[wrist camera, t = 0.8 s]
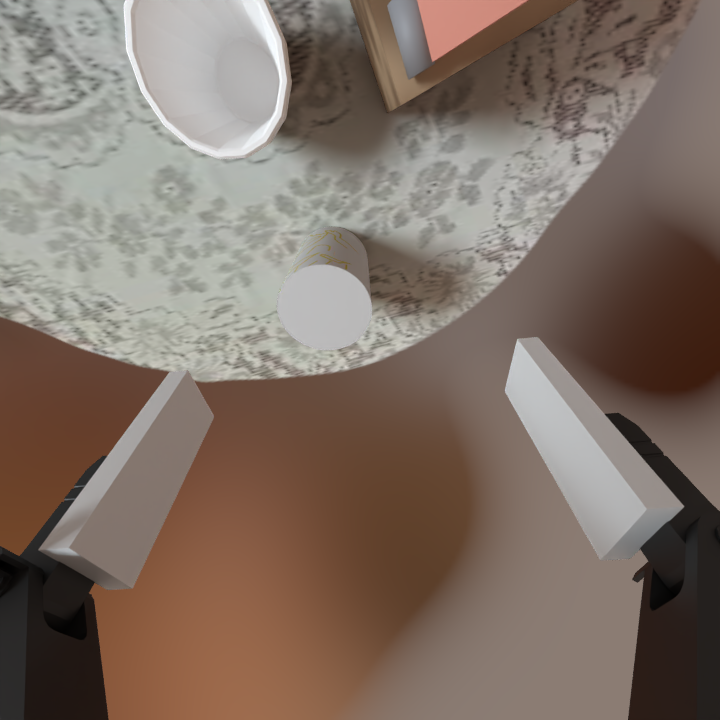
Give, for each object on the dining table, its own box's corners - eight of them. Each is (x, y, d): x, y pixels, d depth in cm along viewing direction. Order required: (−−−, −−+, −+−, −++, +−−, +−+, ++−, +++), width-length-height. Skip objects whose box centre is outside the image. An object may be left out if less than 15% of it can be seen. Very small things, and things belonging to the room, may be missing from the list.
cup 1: (327, 56, 26) (316, 26, 18) (281, 175, 31) (257, 189, 24) (206, -41, 23) (134, -124, 15) (177, 109, 28) (112, 101, 20)
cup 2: (353, 215, 33) (352, 249, 24) (377, 282, 38) (384, 334, 28) (285, 242, 35) (258, 284, 25) (316, 304, 39) (303, 360, 30)
